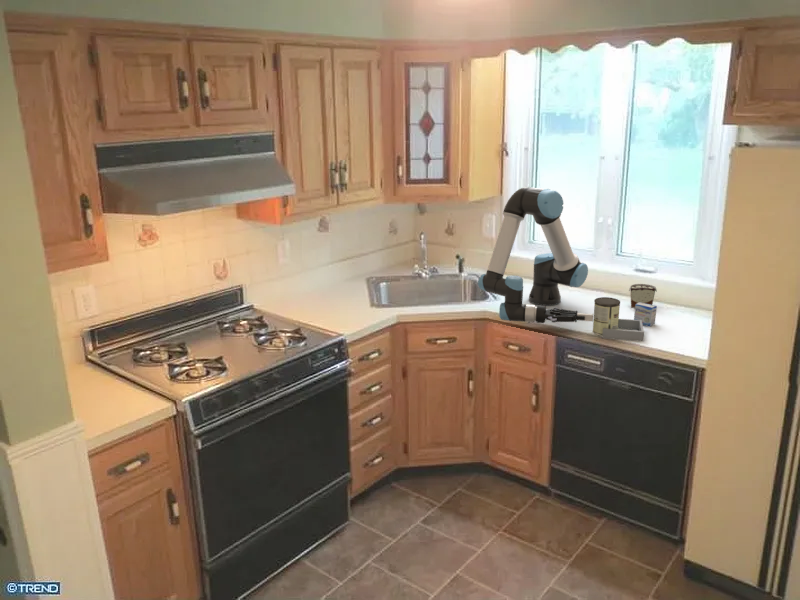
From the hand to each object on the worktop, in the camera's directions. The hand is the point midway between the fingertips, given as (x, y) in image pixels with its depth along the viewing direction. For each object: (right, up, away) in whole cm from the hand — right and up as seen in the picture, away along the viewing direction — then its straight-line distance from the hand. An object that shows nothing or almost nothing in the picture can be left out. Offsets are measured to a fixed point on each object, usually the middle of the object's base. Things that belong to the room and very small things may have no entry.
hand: (593, 317), depth 286 cm
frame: (+12, -7, 0) cm, 14 cm away
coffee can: (+5, -6, +1) cm, 9 cm away
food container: (+32, +5, +35) cm, 48 cm away
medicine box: (+26, -3, +12) cm, 28 cm away
